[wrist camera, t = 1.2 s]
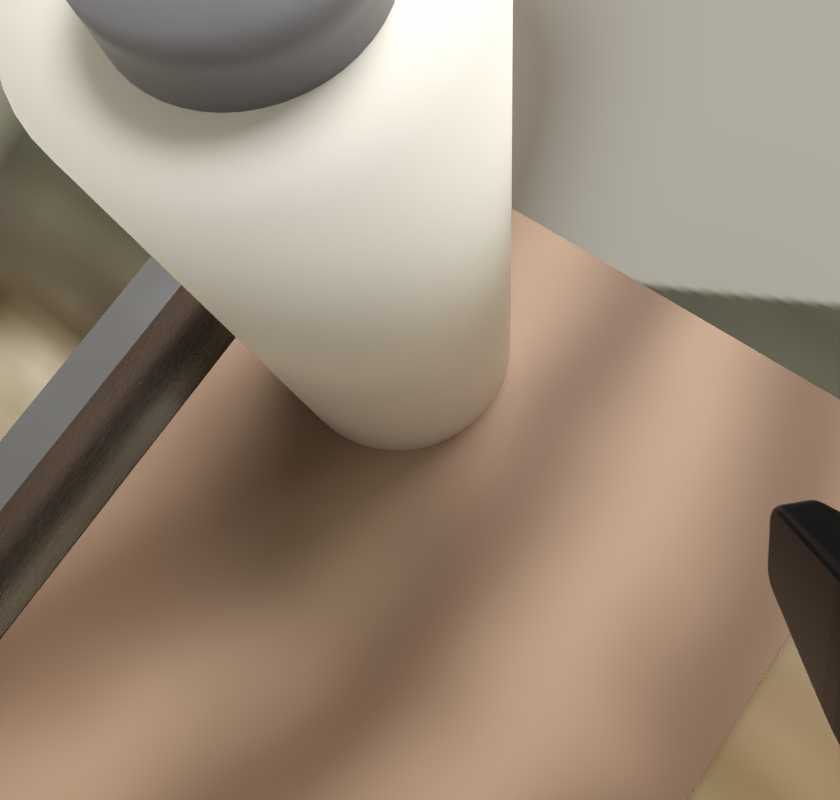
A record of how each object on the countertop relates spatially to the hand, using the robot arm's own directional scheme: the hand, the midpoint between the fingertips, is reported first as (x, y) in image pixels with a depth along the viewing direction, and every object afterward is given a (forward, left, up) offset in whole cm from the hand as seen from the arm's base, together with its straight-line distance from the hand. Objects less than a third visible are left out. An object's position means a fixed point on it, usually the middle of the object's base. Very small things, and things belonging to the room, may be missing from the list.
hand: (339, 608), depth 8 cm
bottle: (+5, -5, -12) cm, 14 cm away
